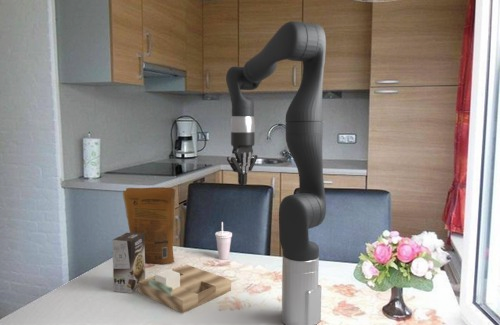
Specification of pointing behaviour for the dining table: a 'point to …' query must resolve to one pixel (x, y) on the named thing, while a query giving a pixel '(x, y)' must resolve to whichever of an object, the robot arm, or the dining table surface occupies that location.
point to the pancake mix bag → (152, 220)
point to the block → (168, 278)
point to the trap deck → (186, 289)
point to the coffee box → (128, 262)
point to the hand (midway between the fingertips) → (242, 184)
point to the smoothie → (223, 243)
